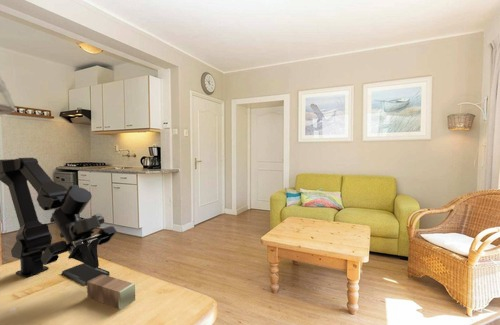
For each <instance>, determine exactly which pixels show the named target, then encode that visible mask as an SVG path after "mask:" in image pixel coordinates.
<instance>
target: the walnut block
mask: <svg viewBox="0 0 500 325" xmlns="http://www.w3.org/2000/svg"><path fill="white" fill-rule="evenodd" d="M86 290H87V292H86V293H87V296H86V297H87V298H88V299H91V300H93V301H96V302H99V303H102V304H104V305H107V306H110V307H113V308H116V309H117V310H118V309H119V310H122V309H124V308H125V307H127V306H128V305H130V304H131V303H133V302H134V301H136V284H135V283H133V282H130V281H127V280H123V279H120V278H116V277H113V276H110V275H109V276H106V275H103V274H102V275H100V276H98V277H96V278H93V279H91V280H89V281H87V285H86Z"/></svg>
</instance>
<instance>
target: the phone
mask: <svg viewBox="0 0 500 325" xmlns="http://www.w3.org/2000/svg"><path fill="white" fill-rule="evenodd" d="M102 274H103V275H106V276H110V274H111V273H110V271H108V270H106V269H103V268H100V267H98V268H96V269H94V268H92V267H90V266H88V265H86V264H84V263H80V264H77V265H75V266H72V267H70V268H66V269H64V270H62V272H61V275H63V276H64V277H67V278H68V279H70V280H73V281H75V282H77V283H79V284H81V285H84V286H87V281H89V280H91V279H93V278H96V277H98V276H100V275H102Z"/></svg>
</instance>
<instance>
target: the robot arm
mask: <svg viewBox="0 0 500 325" xmlns="http://www.w3.org/2000/svg"><path fill="white" fill-rule="evenodd" d="M38 161H39V160H38V159H37V158H36V157H18V158H15V159H14V158H13V159H0V181H1V182H2V183H3V184H4V185H6V186H8V190H9V194H10V197H11V200H12V205H13V207H14V210H15V215H16V218H17V222H18V224H19V225H18V226H19V228H18V231H17V234H16V236H15V239H16V240H15V243H14V245H13V246H12V248H11V249H10V250H11V251H10V252H11V257H12V258H15V259H18V260H20V262H19V263H20V270H17V271H15V274H16V275H18V276H22V277H25V278H29V277H30V276H33V275H36V274H38V273H42V272H44V271H46V270H49V266H47V265H50V264H52V263H55V262H57V260H58V259H59V258H60V255H61V254H64V253H67V252H68V254H69V255H68V257H67V258H68V260H72V259H73V260H76V261H78V262H80V263H81V264H83V263H84V264H86V265H88V266H90V267H92V268H94V269H96V268H99V267H100V263H99V255H98V246H102V245H105V244H107V243H109V242H111V240H112V239H113V237H114V236H115V234H116V233H117V232H118V230H117V229H116V228H115V226H113V225H109V226H105V227H103V228H101V229H100V230H99V231H98V232H97V233H96V234H94V233H95V231H96V229H97V228H100V227H102V226H101V225H102V224H104V223H105V218H104V216H103V214H102V213H100V212H99V213H96V214H94V215H92V216H91V217H88V218H82V217H81V216H80V214H81V213H82V212H83V211H84V209H85V208H86V207H87V205H88V204H89V203H90V201H91V200H92V193H91V191H89V190H88V189H86V188H83V187H79V185H78V184H73V185H69V187H68V189H67V187H65V186H64V185H62V184H59V183H57V182H55V181H54V180H53V179H51V177H50V176H49V174H48V173H47V172H46V171H45V170H44V169H43V167H41V165H40V164H39V162H38ZM28 183H29V184H30V185H31V186H32V187H33V188H32V189H34V190H35V192H36V193H37V196H36V197H37V198H36V201H37V203H38V205H39V207H40V208H41V209H42V210H43V211H51V210H54V212H52V213H51V218H49V219H50V220H49V221H50V223H56V226H57V227H58V229H59V231H60V234H59V237H60V239H61V238H64V239H65V240H60V241H57V242H54V243H52V241H53V237H52V234H51V232H50V230H49V226H48V224H47V223H42V222H40V221H39V218H38V215H37V211H36V207H35V204H34V201H33V198H32V194H31V192H30V187H29V185H28ZM92 234H94V235H92Z"/></svg>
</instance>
